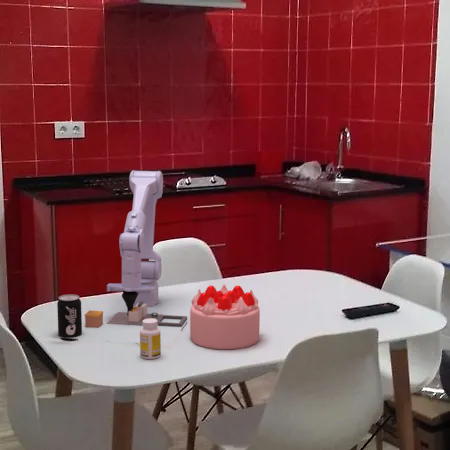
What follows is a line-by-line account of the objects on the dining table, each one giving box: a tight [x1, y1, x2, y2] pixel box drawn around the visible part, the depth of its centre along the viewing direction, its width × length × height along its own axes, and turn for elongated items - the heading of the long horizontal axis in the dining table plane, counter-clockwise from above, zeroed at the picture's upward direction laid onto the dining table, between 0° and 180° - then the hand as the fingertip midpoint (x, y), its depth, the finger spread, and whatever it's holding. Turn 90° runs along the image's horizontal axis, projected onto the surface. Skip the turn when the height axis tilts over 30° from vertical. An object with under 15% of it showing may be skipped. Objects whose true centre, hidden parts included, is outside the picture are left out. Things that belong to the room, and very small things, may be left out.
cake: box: [189, 284, 261, 350], centre depth 215 cm, size 20×20×14 cm
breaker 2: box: [133, 302, 148, 317], centre depth 233 cm, size 4×3×4 cm
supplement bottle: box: [139, 319, 162, 360], centre depth 200 cm, size 5×5×10 cm
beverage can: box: [56, 293, 83, 342], centre depth 214 cm, size 7×7×12 cm
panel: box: [106, 311, 163, 327], centre depth 229 cm, size 12×14×2 cm
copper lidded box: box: [84, 310, 104, 329], centre depth 223 cm, size 4×4×5 cm
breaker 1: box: [128, 305, 142, 322], centre depth 228 cm, size 4×3×4 cm
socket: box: [157, 314, 188, 332], centre depth 226 cm, size 8×8×2 cm
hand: (131, 315), depth 229 cm, fingers closed, pressing on breaker 1
